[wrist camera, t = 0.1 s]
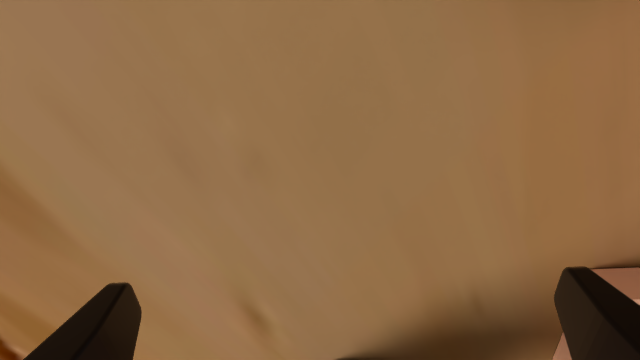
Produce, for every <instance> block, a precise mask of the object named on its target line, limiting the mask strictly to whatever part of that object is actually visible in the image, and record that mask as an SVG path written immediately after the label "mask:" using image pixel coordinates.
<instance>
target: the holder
mask: <svg viewBox="0 0 640 360" xmlns="http://www.w3.org/2000/svg"><path fill="white" fill-rule="evenodd" d="M591 270H592V271H594V272H595V273H596V274H598V275H599V276H600V277H602V278H603V279H605V280H606V281H607V282H609V283H610V284H611V285H613V286H614V287H616V288H617V289H618V290H620V291H621V292H622V293H624V294H625V295H627V296H628V297H629V298H631V299H632V300H633V301H635V302H636V303H637V304H639V305H640V267H639V268H612V269H591ZM553 360H572V359H571V355H570V352H569V349H568V346H567V342H566V339H565V336H564V333H563V334H562V336H561V339H560V341H559V344H558V346H557V349H556V352H555V354H554V357H553Z"/></svg>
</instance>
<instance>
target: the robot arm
mask: <svg viewBox="0 0 640 360" xmlns="http://www.w3.org/2000/svg"><path fill="white" fill-rule="evenodd" d="M554 302H555V306H556V310H557V313H558V316H559V320H560V323H561V326H562V329H563V333H564V336H565V339H566V342H567V346H568V349H569V352H570V355H571V359H572V360H640V305H639V304H637V303H636V302H635V301H633V300H632V299H631V298H629V297H628V296H627V295H625V294H624V293H622V292H621V291H620V290H618V289H617V288H616V287H614V286H613V285H611V284H610V283H609V282H607V281H606V280H605V279H603V278H602V277H600V276H599V275H598V274H596V273H595V272H594V271H592V270H591V269H589V268H587V267H566V268H565V269H564V270H563V271H562V274H561V277H560V279H559V282H558V285H557V288H556V291H555V294H554ZM140 322H141V307H140V304H139V302H138V300H137V297H136V295H135V293H134V290H133V288H132V286H131V285H130V284H129V283H110V284H108V285H106V286H105V287H104V288H103V289H102V290H101V291H100V292H98V293H97V294H96V295H95V296H94V297H93V298H92V299H91V300H89V301H88V302H87V303H86V304H85V305H84V306H83V307H82V308H80V309H79V310H78V311H77V312H76V313H75V314H74V315H73V316H72V317H70V318H69V319H68V320H67V321H66V322H65V323H64V324H63V325H61V326H60V327H59V328H58V329H57V330H56V331H55V332H54V333H52V334H51V335H50V336H49V337H48V338H47V339H46V340H45V341H43V342H42V343H41V344H40V345H39V346H38V347H37V348H36V349H35V350H33V351H32V352H31V353H30V354H29V355H28V356H27V357H26V358H24V359H23V360H133V356H134V351H135V346H136V341H137V336H138V331H139V326H140Z"/></svg>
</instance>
